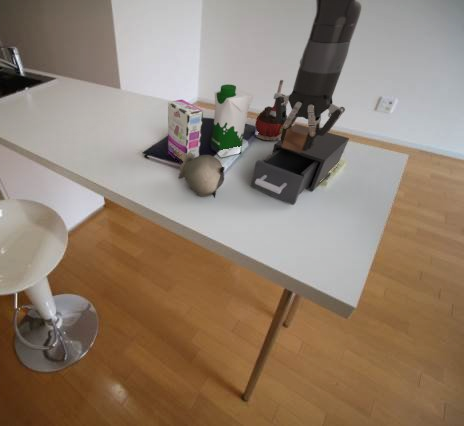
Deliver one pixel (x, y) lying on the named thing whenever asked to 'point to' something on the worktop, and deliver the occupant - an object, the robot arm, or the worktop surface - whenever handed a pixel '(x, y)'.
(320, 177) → the cabinet
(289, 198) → the drawer
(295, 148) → the block
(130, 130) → the worktop surface
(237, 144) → the milk carton
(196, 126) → the candy bar box
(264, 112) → the cake
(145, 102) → the worktop surface
